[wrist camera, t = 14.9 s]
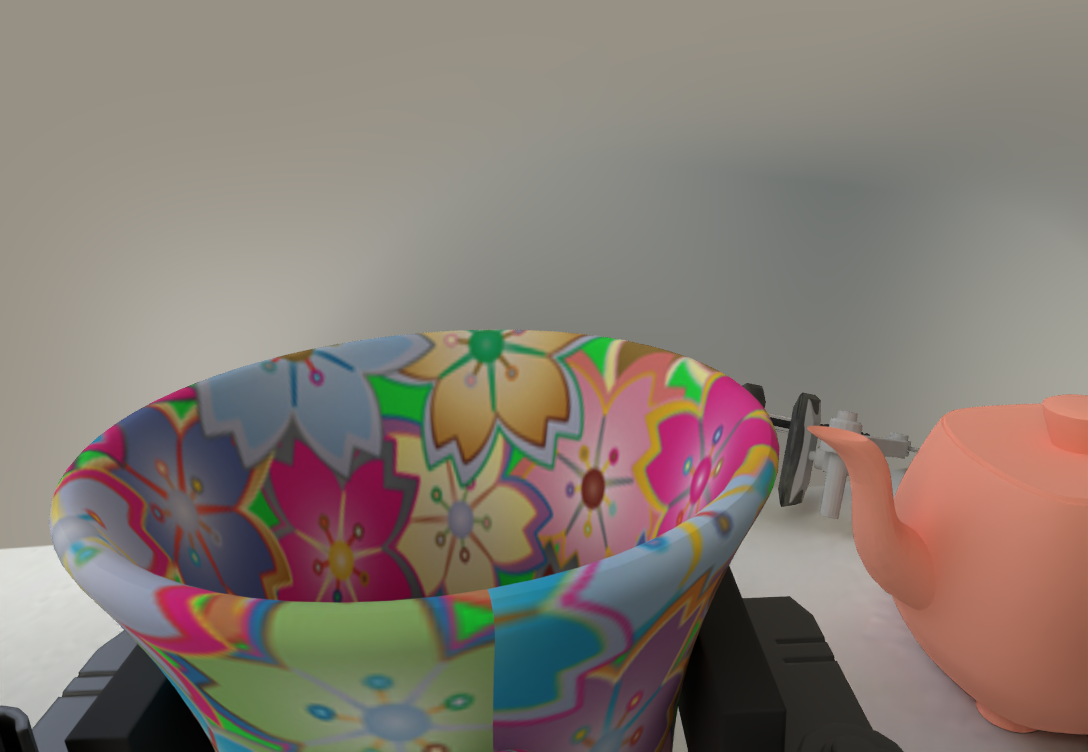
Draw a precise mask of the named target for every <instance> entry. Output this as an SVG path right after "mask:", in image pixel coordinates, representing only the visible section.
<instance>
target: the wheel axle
mask: <svg viewBox="0 0 1088 752" xmlns="http://www.w3.org/2000/svg"><path fill="white" fill-rule="evenodd" d="M742 387H744V388H745V389H746V390H747V391H749V392H750V393H751V394H752V395H753V396H754V397H755V398H756V399H757V400H758V401H759V402H760V403H761V405H762V406H763V407H764V408H765V403H766V401H765V397H764V391H763V388H762V386H759V385H754V384H749V383H746V384H745V385H742ZM768 414H769V415H774V416H779V417H784V418H789V419H791V421H786V420H781V419H776V418H772V417H770V419H771V421H772V423H773V425H774V426H779V427H783V428H788V429H789V432H787V431H782V430H777V429H775V431H779V432H784V433H789V434H788V439H787V445H786V450H785V455H784V461H783V467H782V472H781V477H780V482H779V488H778V490H779V499H780V505H781V507H784V506H790V505H796V504H798V503H801V502H802V500H803V498H804V495H805V493H806V490H807V487H808V485H809V481H810V476H811V471H812V466H813V461H814V465H815V468H816V469H820V470H823V471H824V472H827V475H826V480H825V486H824V492H823V497H822V503H821V508H820V515H822V516H825V517H830V518H836V519H838V518H839V512H840V507H841V502H842V497H843V492H844V487H845V482H846V476H849V473H848V470H847V468H846V465H845V463H844V461H843V460H842V459H841V457H840V456H839V454H838V453H837V452H836V450H834V449H833V448H832V447H830V446H829V445H828V444H826V443H825V442H824V441H823V440H821V444H820V446H819V447H818V449H817V451H815V449H816V444H817V438H818V437H816V436H815V435H813V434H812V433H811V432H810V431H808V429H807V427H808V426H826V427H833V428H838V429H843V430H848V431H851V432H855V433H858V434H861V435H863V436H865V437H867V438H869V439H870V440H871V441H873V442H874V443H875V444H876V445H877V446H878V447H879V449H880V450H881V451H882V453H883V455H884V456H887V457H898V458H905V456H909V452H908V451H913V452H918V451H919V448H914V447H909V446H910V445H911V442H909V441H908V435H904V434H899V433H891V434H890V438H889V437H886V438H879V437H872V436H870V435H869V434H867V433H866V434H863V432H861V431H862V424H861V423H859V422H857V413H853V412H847V411H839V412H838V416H837V418H832V419H831V420H830V425H829V424H824V425H823V424H820V421H821V400H820V399H819V398H818V397H817V396H816V395H812V394H807V393H802V394H801V395H800V396H799V398H798V400H797V402H796V403H795V405H794V407H793V412H792V418H791V417H786V416H781V415H776V414H770V413H768ZM907 450H908V451H907Z"/></svg>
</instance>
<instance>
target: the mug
mask: <svg viewBox="0 0 1088 752" xmlns="http://www.w3.org/2000/svg"><path fill="white" fill-rule="evenodd" d="M778 460H779V444H778V438H777V433H776V431H775V428H774V426H773V423H772V421H771V419H770V417H769V414H768V413H767V412H766V410H765V409H764V407H763V406H762V405H761V403H760V402H759V401H758V400H757V399H756V398H755V397H754V396H753V395H752V394H751V393H750V392H749V391H747V390H746V389H745V388H744V387H742V386H741V385H740V384H738V383H737V382H736V381H734V380H733V379H731V378H730V377H728V376H726V375H725V374H723V373H721V372H719V371H718V370H716V369H714V368H712V367H709V366H707V365H705V364H703V363H701V362H698V361H696V360H693V359H691V358H688V357H686V356H683V355H680V354H676V353H673V352H670V351H667V350H663V349H660V348H656V347H652V346H648V345H644V344H639V343H634V342H630V341H625V340H619V339H613V338H608V337H600V336H593V335H585V334H574V333H566V332H551V331H533V330H463V331H445V332H428V333H417V334H407V335H398V336H389V337H381V338H374V339H367V340H360V341H354V342H348V343H342V344H336V345H331V346H326V347H320V348H315V349H311V350H306V351H302V352H297V353H293V354H288V355H284V356H281V357H277V358H273V359H269V360H265V361H262V362H258V363H254V364H251V365H247V366H244V367H240V368H237V369H234V370H231V371H228V372H225V373H223V374H219V375H216V376H213V377H211V378H208V379H205V380H203V381H200V382H197V383H195V384H193V385H190V386H188V387H185V388H183V389H180V390H178V391H176V392H173V393H171V394H169V395H167V396H165V397H163V398H161V399H158V400H156V401H154V402H152V403H150V404H149V405H147V406H145V407H143V408H141V409H139V410H138V411H136V412H134V413H132V414H131V415H129V416H127V417H126V418H124V419H123V420H121V421H120V422H118V423H117V424H115V425H114V426H112V427H111V428H109V429H108V430H107V431H105V432H104V433H103V434H102V435H100V436H99V437H98V438H97V439H95V440H94V441H93V442H92V443H91V444H90V445H89V446H88V447H87V448H86V449H84V450H83V451H82V453H81V454H80V455H79V456H78V457H77V458H76V459H75V461H74V462H73V463H72V464H71V465H70V466H69V467H68V469H67V470H66V472H65V474H64V475H63V477H62V478H61V480H60V482H59V483H58V486H57V488H56V491H55V494H54V496H53V500H52V504H51V511H50V520H49V525H50V531H51V537H52V542H53V545H54V549H55V551H56V553H57V555H58V557H59V559H60V561H61V563H62V565H63V567H64V568H65V569H66V571H67V572H68V573H69V574H70V576H71V577H72V578H73V579H74V580H75V582H76V583H77V584H78V585H79V586H80V588H81V589H82V590H83V591H84V592H85V593H86V594H87V595H88V596H89V597H91V598H92V599H93V600H94V601H95V602H96V603H97V604H98V605H99V606H100V607H101V608H102V609H103V610H104V611H106V612H107V613H108V614H109V615H110V616H111V617H112V618H113V619H114V620H115V621H116V622H117V623H118V624H119V625H120V626H121V627H122V628H123V629H124V630H125V631H126V632H127V633H128V634H129V635H130V636H131V637H132V638H133V639H134V640H135V641H136V642H137V643H138V644H139V645H140V647H141V648H142V649H143V650H144V651H145V652H146V653H147V654H148V655H149V656H150V658H151V659H152V660H153V661H154V662H155V663H156V664H157V666H158V667H159V668H160V669H161V671H162V672H163V673H164V675H165V676H166V677H167V678H168V680H169V681H170V682H171V683H172V685H173V686H174V687H175V689H176V690H177V691H178V693H179V694H180V696H181V697H182V699H183V700H184V702H185V703H186V704H187V706H188V707H189V709H190V710H191V712H192V713H193V715H194V716H195V718H196V719H197V720H198V722H199V723H200V725H201V727H202V728H203V730H204V732H205V733H206V735H207V737H208V739H209V740H210V742H211V744H212V746H213V748H214V750H215V752H672V748H673V738H674V728H675V722H676V716H677V709H678V703H679V698H680V694H681V690H682V685H683V681H684V677H685V674H686V670H687V667H688V664H689V660H690V657H691V654H692V650H693V647H694V644H695V641H696V638H697V636H698V633H699V630H700V628H701V625H702V622H703V620H704V618H705V615H706V613H707V611H708V608H709V606H710V604H711V602H712V599H713V597H714V595H715V593H716V590H717V588H718V586H719V584H720V582H721V580H722V578H723V576H724V574H725V572H726V570H727V568H728V566H729V564H730V562H731V560H732V559H733V557H734V555H735V553H736V551H737V550H738V548H739V546H740V544H741V543H742V541H743V539H744V538H745V536H746V534H747V533H748V531H749V530H750V528H751V526H752V525H753V523H754V521H755V520H756V518H757V517H758V515H759V513H760V512H761V510H762V508H763V506H764V504H765V503H766V501H767V499H768V497H769V495H770V493H771V491H772V488H773V485H774V482H775V479H776V475H777V473H778Z"/></svg>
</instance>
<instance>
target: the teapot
mask: <svg viewBox="0 0 1088 752" xmlns="http://www.w3.org/2000/svg"><path fill="white" fill-rule="evenodd" d="M807 429H808V431H810V432H811V433H812V434H813V435H815V436H816V437H818V438H820V439H821V440H823V441H824V442H825V443H826V444H828V445H829V446H830V447H832V448H833V449H834V450H836V452H837V453H838V454H839V456H840V457H841V459H842V460H843V461H844V463H845V465H846V468H847V470H848V473H849V477H850V484H851V490H852V525H853V535H854V540H855V544H856V548H857V551H858V554H859V556H860V558H861V560H862V562H863V564H864V566H865V568H866V570H867V571H868V573H869V574H870V575H871V577H872V578H873V579H874V580H875V581H876V582H877V583H878V584H879V585H880V586H881V587H882V588H883V589H884V590H885V591H886V592H887V593H889V594H890V595H892V597H893V599H894V601H895V603H896V606H897V608H898V610H899V612H900V614H901V615H902V617H903V619H904V621H905V622H906V624H907V626H908V627H909V629H910V631H911V632H912V634H913V635H914V637H915V639H916V640H917V642H918V643H919V644H920V646H921V647H922V648H923V650H924V651H925V652H926V653H927V654H928V656H929V657H930V658H931V659H932V660H933V661H934V662H935V663H936V664H937V665H938V666H939V667H940V668H941V669H942V670H943V671H944V672H945V673H946V674H947V675H948V676H949V677H950V678H951V679H952V680H953V681H954V682H955V683H956V684H958V685H959V686H960V687H961V688H962V689H963V690H964V691H965V692H966V693H968V694H969V695H970V696H972V697H973V698H974V699H975V700H976V706H977V709H978V711H979V712H980V713H981V715H982V716H983V717H984V718H985V719H987V720H988V721H989V722H991V723H992V724H994V725H996V726H998V727H1000V728H1003V729H1005V730H1009V731H1013V732H1019V733H1028V732H1033V731H1036V730H1043V731H1048V732H1058V733H1069V734H1088V396H1086V395H1071V394H1070V395H1058V396H1052V397H1049V398H1046V399H1045V400H1043V402H1042V404H1016V405H997V406H984V407H983V406H982V407H972V408H963V409H958V410H953V411H951V412H949V413H947V414H945V415H944V416H943V417H942V418H941V419H940V420H939V422H938V423H937V424H936V426H935V427H934V428H933V429H932V431H931V432H930V434H929V435H928V437H927V438H926V440H925V441H924V443H923V445H922V446H921V448H920V449H919V451H918V452H917V454H916V456H915V457H914V459H913V460H912V462H911V464H910V466H909V467H908V469H907V471H906V473H905V474H904V476H903V478H902V481H901V483H900V485H899V487H898V490H897V492H896V494H895V497H894V500H893V492H892V483H891V476H890V471H889V467H888V464H887V461H886V459H885V457H884V455H883V453H882V451H881V450H880V449H879V447H878V446H877V445H876V444H875V443H874V442H873V441H871V440H870V439H869V438H867V437H865V436H863V435H861V434H858V433H855V432H851V431H848V430H843V429H838V428H833V427H826V426H808V427H807Z"/></svg>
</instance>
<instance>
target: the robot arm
mask: <svg viewBox="0 0 1088 752" xmlns="http://www.w3.org/2000/svg"><path fill="white" fill-rule="evenodd" d="M678 708H679V712H680V717H681V721H682V726H683V730H684V735H685V739H686V744H687V748H688V752H903V751H902V749H901V748H900V747H899V746H898V745H897V744H896V743H895V742H893V741H892V740H890V739H888V738H887V737H885V736H884V735H882V734H880V733H879V732H877V731H874V730H873V729H872V727H871V725H870V724H869V722H868V720H867V718H866V716H865V714H864V712H863V710H862V708H861V706H860V704H859V703H858V701H857V699H856V697H855V695H854V693H853V691H852V689H851V687H850V685H849V683H848V682H847V680H846V678H845V676H844V674H843V672H842V670H841V668H840V666H839V664H838V662H837V661H835V659H834V655H833V653H832V651H831V649H830V647H829V645H828V643H827V642H825V638H824V636H823V634H822V632H821V630H820V628H819V626H818V624H817V622H816V621H815V619H814V617H813V615H812V614H811V613H809V612H808V611H807V610H806V609H804V608H803V607H802V606H801V605H800V604H798V603H797V602H796V601H795V600H793V599H792V598H791V597H790V596H787V597H764V598H742V597H741V594H740V592H739V589H738V587H737V584H736V582H735V579H734V577H733V574H732V572H731V569H730V567H729V566H728V568H727V570H726V572H725V574H724V576H723V578H722V580H721V582H720V584H719V586H718V588H717V590H716V593H715V595H714V597H713V599H712V602H711V604H710V606H709V608H708V611H707V613H706V615H705V618H704V620H703V622H702V625H701V628H700V630H699V633H698V636H697V638H696V641H695V644H694V647H693V650H692V654H691V657H690V660H689V664H688V667H687V670H686V674H685V677H684V681H683V685H682V690H681V694H680V698H679V703H678ZM0 752H215V750H214V748H213V746H212V744H211V742H210V740H209V739H208V737H207V735H206V733H205V732H204V730H203V728H202V727H201V725H200V723H199V722H198V720H197V719H196V718H195V716H194V715H193V713H192V712H191V710H190V709H189V707H188V706H187V704H186V703H185V702H184V700H183V699H182V697H181V696H180V694H179V693H178V691H177V690H176V689H175V687H174V686H173V685H172V683H171V682H170V681H169V680H168V678H167V677H166V676H165V675H164V673H163V672H162V671H161V669H160V668H159V667H158V666H157V664H156V663H155V662H154V661H153V660H152V659H151V658H150V656H149V655H148V654H147V653H146V652H145V651H144V650H143V649H142V648H141V647H140V645H139V644H138V643H137V642H136V641H135V640H134V639H133V638H132V637H131V636H130V635H129V634H128V633H127V632H126V631H125V630H124V631H123V632H121V633H120V634H118V635H117V636H116V637H114V638H113V639H111V640H110V641H109V642H107V643H106V644H104V645H103V646H102V647H100V648H99V649H98V650H97V651H96V652H95V653H94V655H93V656H92V657H91V658H90V659H89V661H88V662H87V663H86V664H85V665H84V667H83V668H82V669H81V670H80V672H79V675H78V677H75V678H74V679H73V680H72V681H71V682H70V684H69V685H68V686H67V687H66V689H65V690H64V691H63V695H62V697H58V698H57V700H56V701H55V702H54V703H53V704H52V706H51V707H50V708H49V709H48V710H47V712H46V713H45V714H44V715H43V717H42V718H41V719H40V720H39V721H38V723H37V724H36V725H35V726H34V728H33V729H32V728H31V725H30V722H29V719H28V716H27V715H26V714H25V713H24V712H22V711H21V710H20V709H19V708H15V707H8V706H0Z"/></svg>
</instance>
